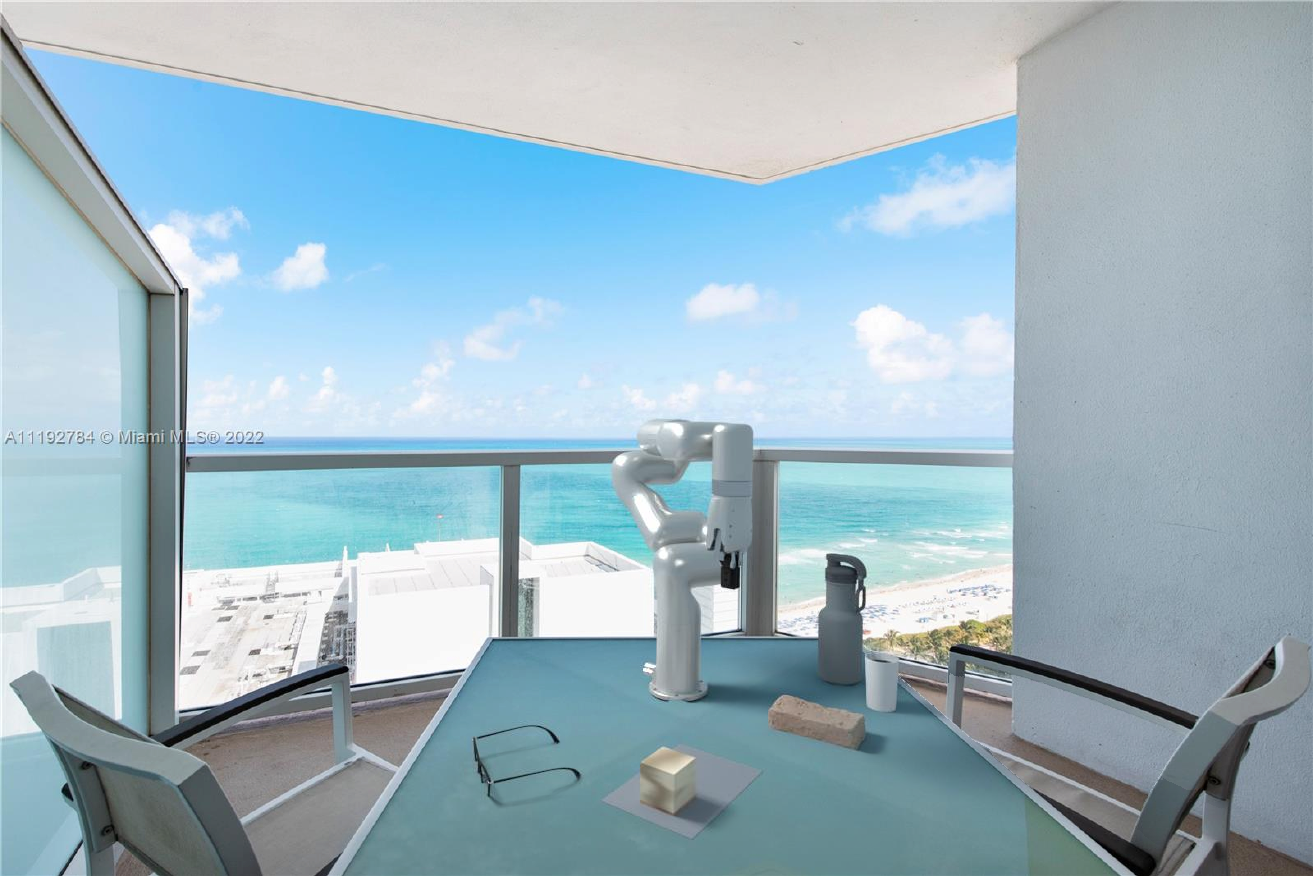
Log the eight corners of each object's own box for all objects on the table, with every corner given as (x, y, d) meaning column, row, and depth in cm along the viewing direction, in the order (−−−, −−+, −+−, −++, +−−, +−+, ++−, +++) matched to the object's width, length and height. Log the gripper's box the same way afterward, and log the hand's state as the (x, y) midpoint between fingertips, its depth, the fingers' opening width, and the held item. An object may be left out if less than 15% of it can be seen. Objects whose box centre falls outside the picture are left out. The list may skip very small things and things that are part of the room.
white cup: (894, 715, 130) (895, 665, 130) (860, 708, 133) (861, 659, 133) (901, 704, 135) (902, 656, 135) (868, 697, 139) (869, 650, 139)
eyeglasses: (468, 756, 113) (468, 733, 113) (557, 739, 119) (557, 718, 119) (485, 807, 98) (486, 780, 98) (586, 784, 104) (587, 759, 104)
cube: (662, 746, 102) (662, 784, 102) (640, 762, 97) (639, 802, 97) (695, 757, 99) (695, 797, 99) (674, 774, 94) (673, 816, 94)
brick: (866, 736, 122) (866, 711, 122) (855, 754, 114) (855, 728, 114) (781, 716, 130) (781, 692, 130) (766, 732, 123) (766, 707, 123)
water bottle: (868, 676, 151) (870, 554, 151) (857, 690, 143) (858, 561, 142) (825, 667, 156) (826, 550, 156) (811, 680, 148) (813, 556, 148)
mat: (600, 804, 98) (600, 800, 98) (680, 747, 116) (680, 743, 116) (692, 843, 89) (692, 839, 89) (762, 774, 107) (762, 771, 107)
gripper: (733, 485, 130) (732, 577, 131) (693, 491, 118) (691, 592, 118) (768, 488, 126) (766, 583, 126) (729, 494, 114) (727, 599, 114)
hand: (730, 587), depth 122 cm, fingers closed
